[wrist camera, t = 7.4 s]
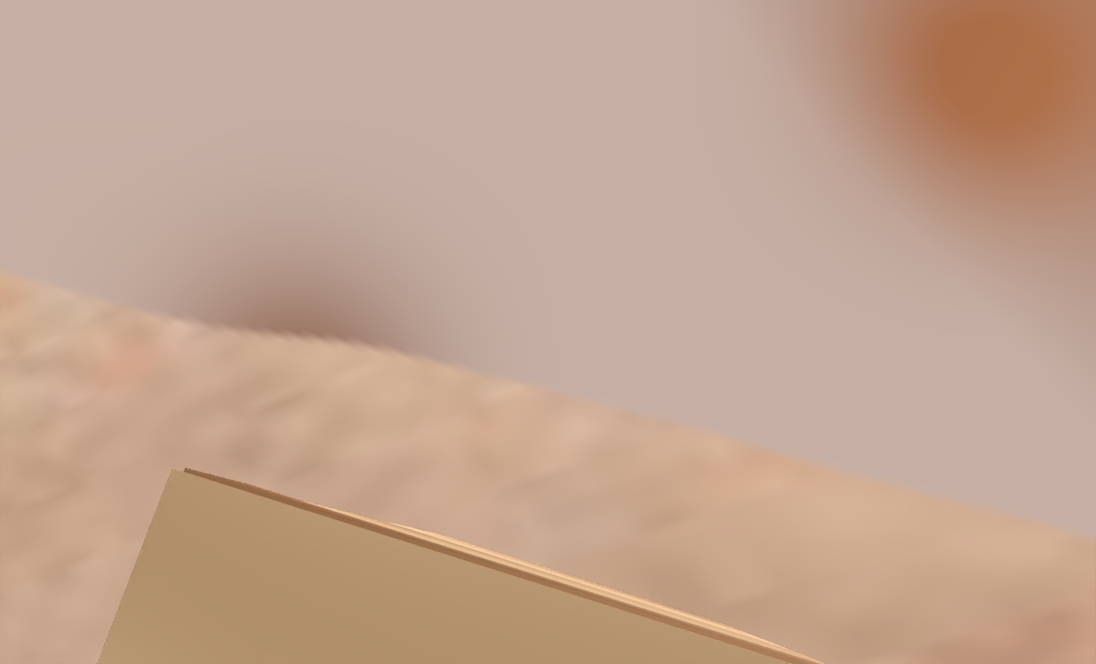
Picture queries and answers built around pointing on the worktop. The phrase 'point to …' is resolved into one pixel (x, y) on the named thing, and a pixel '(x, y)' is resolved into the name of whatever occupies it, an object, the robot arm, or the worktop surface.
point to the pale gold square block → (375, 595)
